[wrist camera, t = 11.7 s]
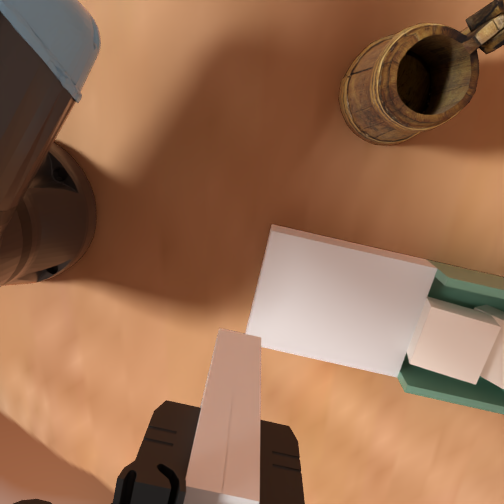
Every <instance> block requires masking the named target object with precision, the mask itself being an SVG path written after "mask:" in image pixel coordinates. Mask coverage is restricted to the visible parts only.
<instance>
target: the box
mask: <svg viewBox="0 0 504 504" xmlns="http://www.w3.org/2000/svg"><path fill="white" fill-rule="evenodd" d="M426 260H427V259H426ZM428 261H429V262H430V263H431V264H432V265H434V266H435V267H436V268H437V271H436V274H435V277H434V280H433V282H432V285H431V288H430V290H429V293H428V297H431V298H435V299H438V300H442V301H445V302H449V303H452V304H456V305H459V306H463V307H466V308H470V309H473V310H474V307H478V306H482V305H486V304H487V305H489V306H491V307H494V308H496V309H498V310H501V311H503V312H504V277H501V276H497V275H492V274H488V273H484V272H479V271H475V270H470V269H466V268H462V267H457V266H453V265H449V264H444V263H440V262H436V261H431V260H428ZM397 378H398V380H399V382H400V384H401V386H402V388H403V390H404V392H406V393H411V394H415V395H420V396H424V397H428V398H433V399H437V400H442V401H446V402H451V403H455V404H460V405H464V406H469V407H473V408H478V409H482V410H486V411H491V412H495V413H500V414H504V389H502V388H500V387H499V386H497V385H495V384H493V383H491V382H490V381H488V380H486V379H484V378H483V377H481V376H479V379H478V381H477V383H476V385H475V384H472V383H469V382H465V381H462V380H459V379H456V378H453V377H450V376H446V375H443V374H440V373H437V372H434V371H431V370H427V369H424V368H421V367H418V366H415V365H412V364H410V363H409V359H408V355H407V353H406V355H405V358H404V361H403V363H402V366H401V369H400V371H399V374H398V377H397Z"/></svg>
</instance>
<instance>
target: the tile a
mask: <svg viewBox="0 0 504 504" xmlns="http://www.w3.org/2000/svg"><path fill="white" fill-rule="evenodd" d="M500 328H501V326H500V325H499V324H498V323H497V322H496V320H495V319H494V318H493V317H492V316H491V314H487V313H484V312H480V311H477V310H473V309H470V308H466V307H463V306H459V305H456V304H452V303H449V302H445V301H442V300H438V299H435V298H431V297H428V296H427V298H426V301H425V304H424V307H423V309H422V312H421V315H420V317H419V320H418V323H417V326H416V328H415V331H414V334H413V336H412V339H411V342H410V344H409V347H408V350H407V355H408V359H409V363H410V364H412V365H415V366H418V367H421V368H424V369H427V370H431V371H434V372H437V373H440V374H443V375H446V376H450V377H453V378H456V379H459V380H462V381H465V382H469V383H472V384H475V385H476V383H477V381H478V379H479V376H480V374H481V372H482V369H483V367H484V365H485V363H486V360H487V358H488V356H489V353H490V351H491V349H492V347H493V344H494V342H495V340H496V337H497V335H498V333H499V331H500Z"/></svg>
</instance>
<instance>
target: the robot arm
mask: <svg viewBox="0 0 504 504" xmlns="http://www.w3.org/2000/svg"><path fill="white" fill-rule="evenodd" d="M100 44H101V40H100V33H99V30H98V27H97V25H96V22H95V20H94V19H93V17H92V16H91V14H90V13H89V12H88V11H87V10H86V9H85V8H84V7H83V6H82V5H81V4H80V3H79V2H78V1H77V0H0V287H1V286H4V285H17V284H29V283H36V282H41V281H44V280H47V279H50V278H52V277H55V276H57V275H58V274H60V273H62V272H63V271H65V270H66V269H68V268H69V267H71V266H72V265H74V264H75V263H76V262H77V261H78V260H79V259H80V258H81V257H82V256H83V255H84V253H85V252H86V250H87V249H88V247H89V245H90V243H91V241H92V238H93V235H94V231H95V226H96V204H95V199H94V195H93V191H92V189H91V186H90V184H89V181H88V179H87V177H86V176H85V174H84V172H83V171H82V169H81V168H80V166H79V165H78V164H77V162H76V161H75V160H74V159H73V158H72V157H71V156H70V155H69V154H68V153H67V152H66V151H65V150H64V149H62V148H61V147H60V146H58V145H57V144H56V143H54V140H55V139H56V137H57V135H58V133H59V131H60V129H61V128H62V126H63V124H64V122H65V120H66V119H67V117H68V115H69V113H70V111H71V110H72V108H73V106H74V104H75V102H77V103H79V101H80V100H81V97H82V95H81V89H82V87H83V85H84V83H85V81H86V79H87V77H88V75H89V73H90V71H91V68H92V66H93V64H94V62H95V60H96V58H97V56H98V54H99V50H100ZM260 413H261V337H257V336H253V335H248V334H244V333H240V332H235V331H231V330H227V329H222V328H219V331H218V335H217V340H216V344H215V348H214V352H213V356H212V360H211V364H210V369H209V373H208V377H207V381H206V385H205V389H204V393H203V398H202V402H201V407H200V408H199V407H194V406H190V405H185V404H181V403H176V402H172V401H167V400H166V401H165V402H164V403H163V404H162V405H160V406H159V407H158V408H157V409H156V410H155V411H154V413H153V415H152V418H151V421H150V423H149V426H148V428H147V431H146V434H145V436H144V439H143V441H142V444H141V447H140V449H139V452H138V454H137V457H136V459H135V461H134V462H132V463H131V464H129V465H128V466H126V467H125V468H124V469H123V470H122V472H121V473H120V475H119V476H118V478H117V483H116V488H115V494H114V499H113V503H111V504H305V502H304V493H303V483H302V474H301V465H300V460H299V457H300V456H299V447H298V441H297V439H296V437H295V435H294V434H293V432H292V430H291V428H290V427H289V426H286V425H281V424H277V423H272V422H268V421H263V420H260ZM14 504H52V503H51V502H47V501H43V500H39V499H31V500H22V501H19V502H17V503H14Z"/></svg>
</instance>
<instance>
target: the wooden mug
mask: <svg viewBox="0 0 504 504" xmlns="http://www.w3.org/2000/svg"><path fill="white" fill-rule="evenodd" d="M466 22H467V25H468V27H467V28H465V29H464V30H462V31H461V32H459V31H457V30H455V29H453V28H451V27H448V26H445V25H441V24H435V23H419V24H416V25H413V26H410V27H407V28H405V29H403V30H402V31H400V32H399V33H397V34H394V35H391V36H387V37H384V38H381V39H379V40H377V41H375V42H372V43H371V44H370V45H369V46H368V47H367V48H366V49H364V50H363V51H362V52H361V53H360V55H359V56H358V57H357V58H356V59H355V60H354V62H353V63H352V65H351V66H350V68H349V70H348V71H347V73H346V75H345V76H344V78H343V80H342V82H341V85H340V92H339V103H340V107H341V112H342V114H343V117H344V119H345V121H346V123H347V125H348V126H349V127H350V129H351V130H352V131H353V132H354V133H355V134H356V135H357V136H359V137H360V138H362V139H363V140H365V141H367V142H370V143H373V144H375V145H393V144H399V143H402V142H404V141H406V140H408V139H409V138H411V137H413V136H415V135H417V134H419V133H420V132H423V131H427V130H431V129H433V128H435V127H438V126H439V125H441V124H443V123H445V122H447V121H449V120H450V119H451V118H453V117H454V116H456V115H457V114H458V113H459V112H460V111H461V110H462V109H463V108H464V107H465V106H466V105H467V104H468V103H469V102H470V100H471V98H472V96H473V95H474V93H475V91H476V86H477V80H478V75H479V60H478V54H477V49H478V48H480V49H481V50H482V51H483V52H484V53H485V54H488V53H490V52H493V51H495V50H496V49H498V48H499V47H501V46H502V45H504V0H494V1H493V2H491V3H490V4H488V5H487V6H485V7H484V8H482V9H481V10H479V11H478V12H476V13H475V14H473V15H472V16H470V17H469V18H467V19H466Z"/></svg>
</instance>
